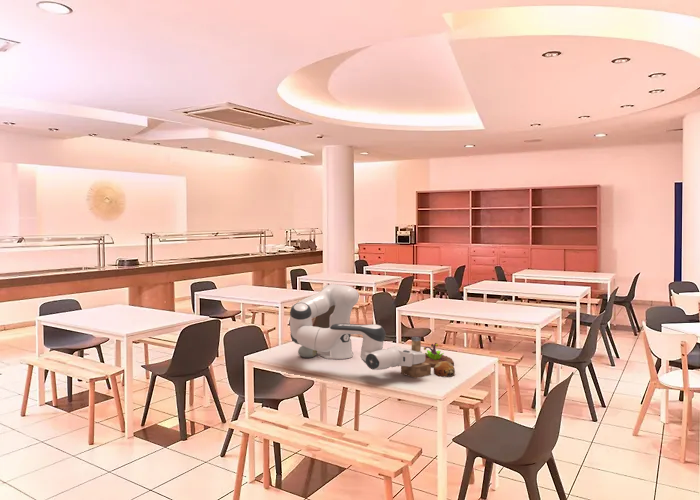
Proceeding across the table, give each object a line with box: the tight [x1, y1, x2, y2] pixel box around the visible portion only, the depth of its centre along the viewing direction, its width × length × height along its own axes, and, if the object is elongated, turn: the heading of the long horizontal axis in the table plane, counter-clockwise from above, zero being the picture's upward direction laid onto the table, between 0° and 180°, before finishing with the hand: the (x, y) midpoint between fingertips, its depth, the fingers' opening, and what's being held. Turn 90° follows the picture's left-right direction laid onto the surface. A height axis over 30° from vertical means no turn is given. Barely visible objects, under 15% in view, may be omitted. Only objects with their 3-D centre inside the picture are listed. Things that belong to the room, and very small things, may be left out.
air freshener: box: [297, 345, 318, 359], centre depth 280 cm, size 11×8×10 cm
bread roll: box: [433, 361, 456, 378], centre depth 248 cm, size 10×10×8 cm
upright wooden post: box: [411, 336, 422, 365], centre depth 247 cm, size 3×3×16 cm
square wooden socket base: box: [400, 362, 432, 379], centre depth 248 cm, size 10×10×5 cm
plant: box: [423, 342, 455, 369], centre depth 269 cm, size 20×20×11 cm
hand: (417, 351), depth 248 cm, fingers closed on upright wooden post, 3 cm apart
